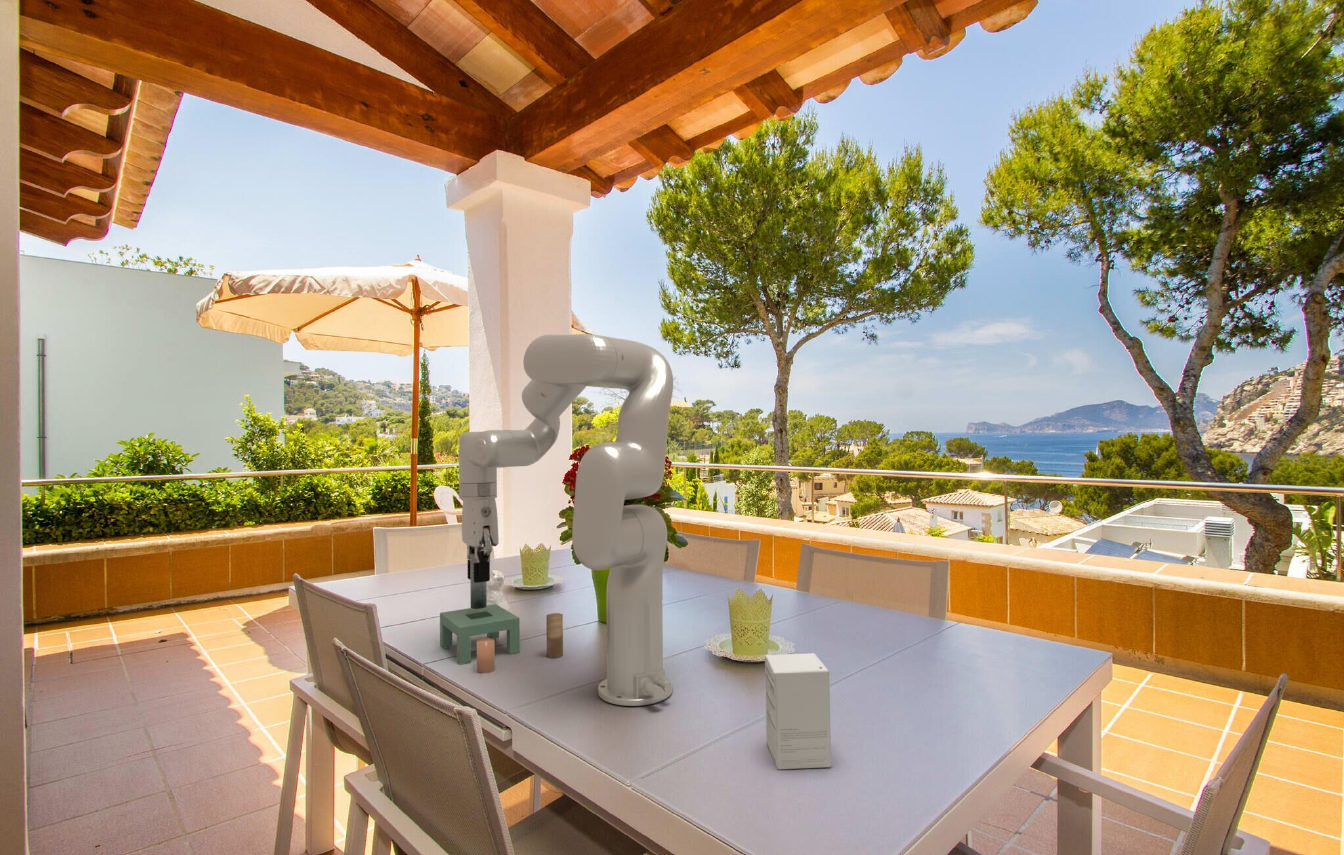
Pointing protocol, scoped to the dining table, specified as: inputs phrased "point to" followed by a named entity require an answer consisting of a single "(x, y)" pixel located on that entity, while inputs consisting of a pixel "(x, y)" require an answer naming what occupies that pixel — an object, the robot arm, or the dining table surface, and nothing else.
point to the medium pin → (554, 635)
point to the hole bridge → (478, 628)
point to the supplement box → (798, 711)
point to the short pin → (485, 655)
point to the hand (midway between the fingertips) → (478, 579)
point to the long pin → (477, 588)
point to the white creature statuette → (496, 590)
